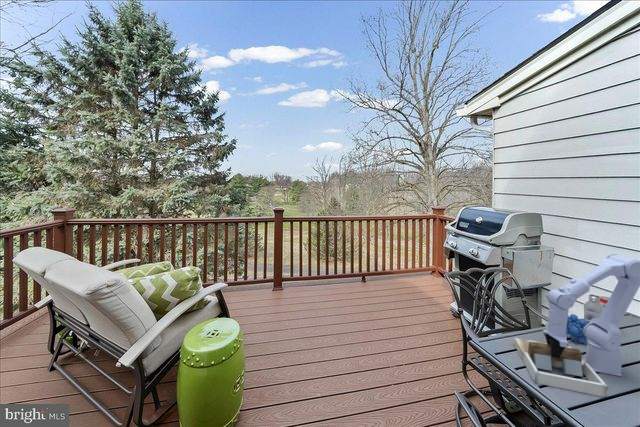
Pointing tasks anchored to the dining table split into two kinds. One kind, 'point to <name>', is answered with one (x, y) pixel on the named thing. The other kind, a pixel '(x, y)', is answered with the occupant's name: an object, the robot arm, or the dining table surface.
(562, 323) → the robot arm
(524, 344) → the birch plate
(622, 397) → the dining table surface
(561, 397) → the dining table surface
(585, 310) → the plastic bottle
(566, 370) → the near tile
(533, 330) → the dining table surface
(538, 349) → the scraper bar
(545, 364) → the far tile
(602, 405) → the dining table surface
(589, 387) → the box
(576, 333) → the grapes
